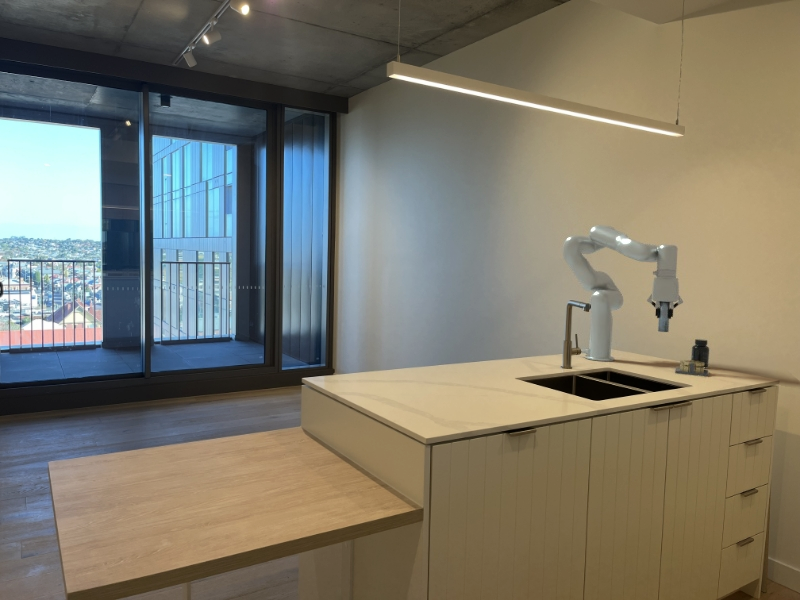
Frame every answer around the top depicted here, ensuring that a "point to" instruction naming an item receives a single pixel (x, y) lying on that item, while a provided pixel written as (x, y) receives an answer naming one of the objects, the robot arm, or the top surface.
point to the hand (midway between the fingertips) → (664, 317)
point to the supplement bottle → (700, 351)
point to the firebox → (691, 368)
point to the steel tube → (663, 316)
